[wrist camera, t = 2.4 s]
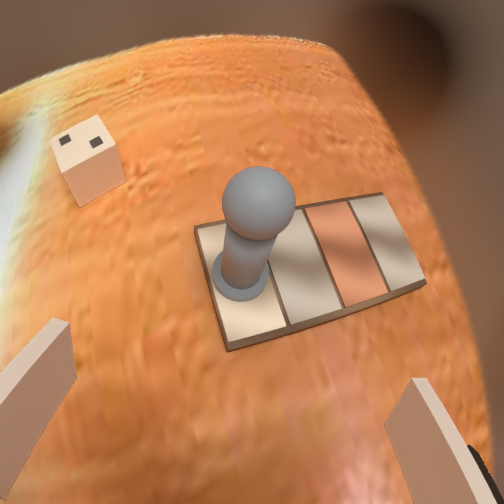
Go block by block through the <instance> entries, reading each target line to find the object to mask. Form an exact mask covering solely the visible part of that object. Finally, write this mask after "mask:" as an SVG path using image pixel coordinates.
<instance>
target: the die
mask: <svg viewBox="0 0 504 504" xmlns="http://www.w3.org/2000/svg"><path fill="white" fill-rule="evenodd" d="M49 141H50V144H51V146H52V149H53V152H54V155H55V157H56V160H57V162H58V165H59V168H60V170H61V173H62V175H63V177H64V179H65V181H66V183H67V185H68V187H69V189H70V191H71V192H72V194H73V196H74V198H75V200H76V202H77V204H78V206H79V208H80V207H82V206H84V205H85V204H87V203H89V202H91V201H92V200H94V199H96V198H98V197H99V196H101V195H103V194H105V193H107V192H108V191H110V190H112V189H114V188H116V187H118V186H119V185H121V184H123V183H125V182H126V179H125V176H124V172H123V169H122V165H121V161H120V158H119V154H118V150H117V147H116V144H115V142H114V141H113V139H112V137H111V136H110V134H109V132H108V131H107V129H106V128H105V126H104V124H103V123H102V121H101V119H100V118H99V116H98V114H97V115H95V116H93V117H91V118H89V119H87V120H85V121H83V122H81V123H79V124H77V125H75V126H73V127H71V128H69V129H67V130H65V131H64V132H62V133H60V134H58V135H56V136H54V137H53V138H51V139H49Z"/></svg>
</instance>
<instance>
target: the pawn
mask: <svg viewBox="0 0 504 504" xmlns="http://www.w3.org/2000/svg"><path fill="white" fill-rule="evenodd" d="M295 205H296V200H295V194H294V191H293V188H292V186H291V184H290V183H289V181H288V180H287V179H286V178H285V177H284V176H283V175H282V174H281V173H279V172H277V171H276V170H273V169H271V168H268V167H261V166H256V167H249V168H246V169H244V170H242V171H240V172H238V173H237V174H236V175H234V176H233V177H232V178H231V179H230V181H229V182H228V184H227V185H226V187H225V190H224V192H223V197H222V209H223V213H224V216H225V219H226V229H225V238H224V246H223V251H221V252H220V253H219V254H218V256H217V257H216V259H215V261H214V264H213V271H212V279H213V283H214V286H215V287H216V289H217V291H218V292H219V293H220V294H221V295H222V296H224V297H225V298H227V299H229V300H232V301H236V302H245V301H249V300H252V299H254V298H256V297H257V296H258V295H260V293H261V292H262V291H263V289H264V288H265V286H266V283H267V281H268V278H269V267H268V263H267V260H268V257H269V255H270V253H271V250H272V248H273V245H274V243H275V241H276V238H277V236H278V234H279V233H281V232H282V231H283V230H284V229H285V228H286V227H287V226H288V225H289V223H290V222H291V220H292V218H293V215H294V212H295Z"/></svg>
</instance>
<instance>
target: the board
mask: <svg viewBox="0 0 504 504" xmlns="http://www.w3.org/2000/svg"><path fill="white" fill-rule="evenodd" d="M225 229H226V220H221V221H216V222H211V223H206V224H201V225H196V226H194V233H195V237H196V241H197V245H198V249H199V253H200V257H201V261H202V265H203V268H204V272H205V276H206V280H207V283H208V287H209V291H210V294H211V298H212V302H213V305H214V309H215V312H216V316H217V320H218V323H219V327H220V330H221V333H222V337H223V340H224V344H225V347H226V351H227V352H231V351H235V350H238V349H242V348H246V347H249V346H253V345H256V344H260V343H263V342H267V341H270V340H274V339H277V338H280V337H284V336H287V335H290V334H293V333H297V332H300V331H303V330H306V329H309V328H312V327H316V326H319V325H322V324H325V323H328V322H331V321H334V320H337V319H339V318H342V317H345V316H348V315H351V314H354V313H357V312H359V311H362V310H365V309H368V308H370V307H373V306H376V305H378V304H381V303H384V302H386V301H389V300H392V299H394V298H397V297H399V296H402V295H404V294H407V293H409V292H412V291H414V290H417V289H419V288H421V287H423V286H424V285H426V284H427V282H426V280H425V276H424V274H423V272H422V270H421V267H420V265H419V263H418V261H417V259H416V256H415V254H414V252H413V250H412V248H411V246H410V244H409V242H408V240H407V238H406V236H405V234H404V232H403V230H402V228H401V226H400V224H399V222H398V220H397V218H396V216H395V214H394V212H393V210H392V208H391V207H390V205H389V203H388V201H387V199H386V197H385V196H384V195H383V193H382V192H379V193H372V194H366V195H360V196H353V197H347V198H341V199H335V200H329V201H323V202H317V203H312V204H306V205H300V206H295V212H294V215H293V218H292V220H291V222H290V223H289V225H288V226H287V227H286V228H285V229H284V230H283V231H282V232H281V233H279V234H278V236H277V238H276V241H275V243H274V245H273V248H272V250H271V253H270V255H269V257H268V260H267V263H268V267H269V278H268V281H267V283H266V286H265V288H264V289H263V291H262V292H261V293H260V295H258V296H257V297H256V298H254V299H252V300H249V301H245V302H236V301H232V300H229V299H227V298H225V297H224V296H222V295H221V294H220V293H219V292H218V291H217V289H216V287H215V286H214V283H213V279H212V271H213V264H214V261H215V259H216V257H217V256H218V254H219V253H220V252H221V251H223V246H224V238H225Z"/></svg>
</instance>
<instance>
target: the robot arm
mask: <svg viewBox="0 0 504 504" xmlns="http://www.w3.org/2000/svg"><path fill="white" fill-rule="evenodd" d="M76 379H77V373H76V367H75V361H74V354H73V347H72V339H71V331H70V323H69V322H66V321H62V320H59V319H56V318H52V319H51V320H50V321H49V322H48V323H47V324H46V325H45V326H44V327H43V328H42V329H41V330H40V331H39V332H38V333H37V334H36V335H35V336H34V337H33V339H32V340H31V341H30V342H29V343H28V344H27V345H26V346H25V347H24V348H23V349H22V350H21V351H20V352H19V353H18V354H17V355H16V356H15V358H14V359H13V360H12V361H11V362H10V363H9V364H8V365H7V366H6V367H5V369H4V370H3V371H2V372H1V373H0V498H1V499H3V500H4V501H5V499H6V497H7V495H8V493H9V492H10V490H11V488H12V486H13V484H14V482H15V480H16V478H17V477H18V475H19V473H20V471H21V469H22V468H23V466H24V464H25V462H26V460H27V459H28V457H29V455H30V453H31V452H32V450H33V448H34V446H35V445H36V443H37V441H38V440H39V438H40V436H41V435H42V433H43V431H44V430H45V428H46V426H47V425H48V423H49V421H50V420H51V418H52V417H53V415H54V413H55V412H56V410H57V408H58V407H59V405H60V404H61V402H62V401H63V399H64V397H65V396H66V394H67V393H68V391H69V390H70V388H71V387H72V385H73V383H74V382H75V380H76ZM384 426H385V428H386V431H387V433H388V436H389V439H390V441H391V444H392V446H393V449H394V451H395V454H396V457H397V459H398V462H399V465H400V467H401V470H402V473H403V475H404V478H405V481H406V484H407V486H408V489H409V492H410V495H411V497H412V500H413V503H414V504H504V500H503V498H502V496H501V494H500V492H499V490H498V488H497V486H496V484H495V482H494V481H493V479H492V477H491V475H490V473H488V469H487V468H486V466H485V465H484V462H483V460H482V459H481V457H480V455H479V453H478V452H477V451H476V450H475V449H474V448H473V447H471V446H470V445H466V444H465V442H464V440H463V438H462V437H461V435H460V433H459V431H458V430H457V428H456V426H455V425H454V423H453V421H452V419H451V418H450V416H449V414H448V413H447V411H446V409H445V408H444V406H443V404H442V403H441V401H440V400H439V398H438V396H437V395H436V393H435V392H434V390H433V388H432V387H431V385H430V384H429V382H428V380H427V379H426V378H411V380H410V381H409V383H408V385H407V387H406V389H405V390H404V392H403V394H402V396H401V397H400V399H399V401H398V402H397V404H396V406H395V407H394V409H393V411H392V412H391V414H390V415H389V417H388V419H387V420H386V422H385V423H384Z"/></svg>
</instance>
